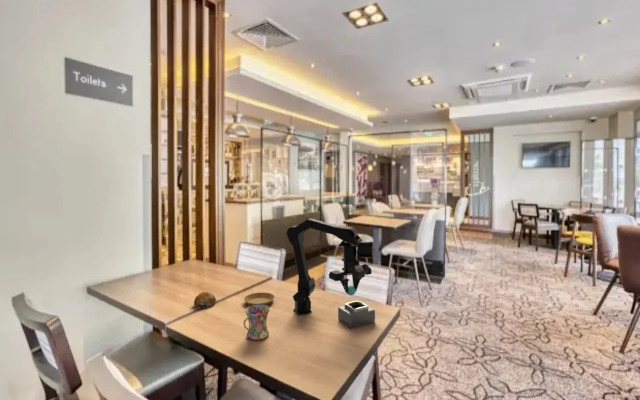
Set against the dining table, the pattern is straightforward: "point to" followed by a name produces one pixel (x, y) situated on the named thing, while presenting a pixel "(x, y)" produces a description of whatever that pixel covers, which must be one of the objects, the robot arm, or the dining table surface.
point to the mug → (257, 321)
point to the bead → (351, 290)
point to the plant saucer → (259, 299)
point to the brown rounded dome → (205, 299)
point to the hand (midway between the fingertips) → (351, 292)
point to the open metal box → (356, 314)
